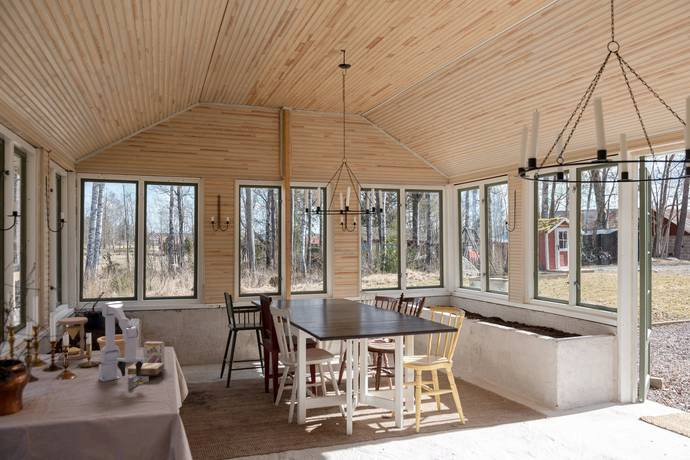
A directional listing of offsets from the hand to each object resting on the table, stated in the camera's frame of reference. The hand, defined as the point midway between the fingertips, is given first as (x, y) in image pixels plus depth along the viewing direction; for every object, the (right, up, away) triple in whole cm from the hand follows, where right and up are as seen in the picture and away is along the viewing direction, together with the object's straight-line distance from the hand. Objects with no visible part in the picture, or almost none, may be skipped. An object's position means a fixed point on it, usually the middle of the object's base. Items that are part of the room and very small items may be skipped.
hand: (130, 375), depth 294 cm
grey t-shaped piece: (0, -7, +6) cm, 9 cm away
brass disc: (+1, -7, +10) cm, 12 cm away
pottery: (-34, -7, +64) cm, 73 cm away
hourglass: (-66, -7, +73) cm, 98 cm away
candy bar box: (-1, -7, +39) cm, 39 cm away
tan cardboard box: (+1, -6, +20) cm, 21 cm away
